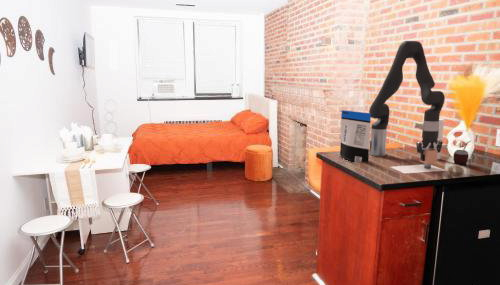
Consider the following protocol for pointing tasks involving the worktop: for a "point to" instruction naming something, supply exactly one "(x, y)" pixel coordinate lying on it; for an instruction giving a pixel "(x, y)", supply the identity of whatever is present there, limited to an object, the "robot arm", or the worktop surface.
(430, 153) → the salmon pink cube
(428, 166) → the steel post
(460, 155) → the mate gourd
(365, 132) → the protein powder
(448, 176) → the worktop surface
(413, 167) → the white board
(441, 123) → the cylindrical container
